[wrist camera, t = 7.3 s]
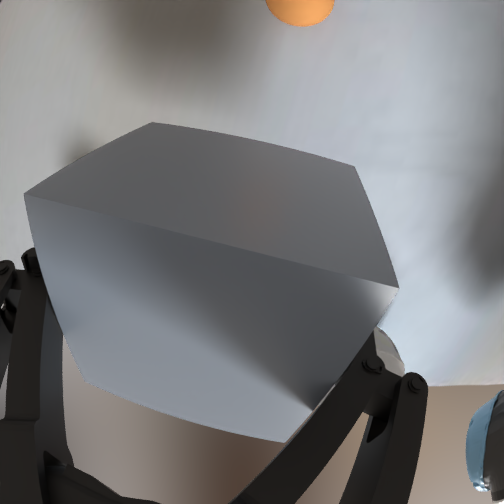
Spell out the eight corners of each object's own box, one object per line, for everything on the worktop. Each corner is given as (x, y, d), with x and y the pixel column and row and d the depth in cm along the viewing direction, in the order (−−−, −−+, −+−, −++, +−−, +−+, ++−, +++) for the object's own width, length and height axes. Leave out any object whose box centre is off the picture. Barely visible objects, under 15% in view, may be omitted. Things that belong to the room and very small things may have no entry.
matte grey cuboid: (354, 166, 14) (399, 288, 7) (298, 315, 20) (284, 442, 12) (151, 122, 14) (23, 193, 7) (148, 275, 20) (84, 381, 13)
